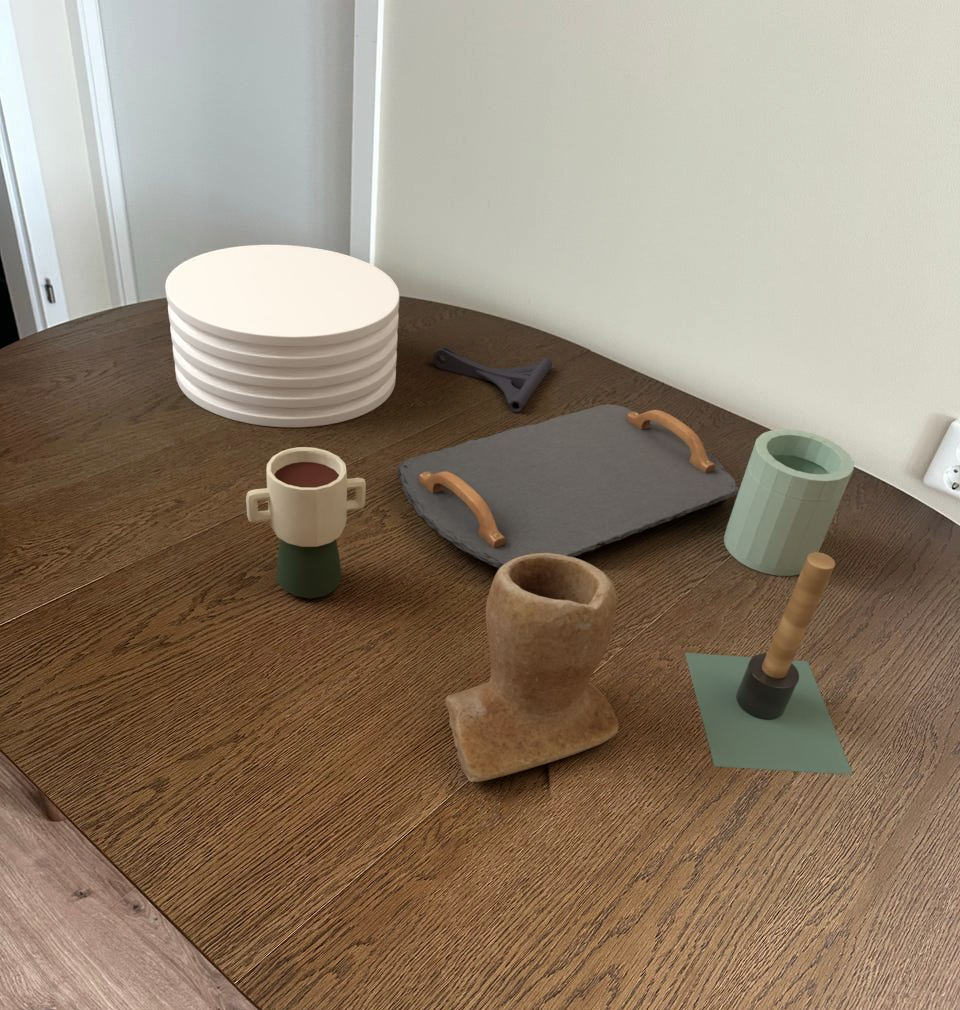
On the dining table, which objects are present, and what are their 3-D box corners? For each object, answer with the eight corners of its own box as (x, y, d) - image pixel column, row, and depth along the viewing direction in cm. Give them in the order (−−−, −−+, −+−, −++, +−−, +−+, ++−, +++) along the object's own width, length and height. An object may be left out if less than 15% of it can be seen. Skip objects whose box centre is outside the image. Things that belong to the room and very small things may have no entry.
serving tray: (492, 606, 92) (500, 555, 88) (369, 489, 105) (370, 440, 101) (754, 504, 111) (770, 458, 107) (622, 415, 124) (632, 371, 120)
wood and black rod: (739, 679, 87) (795, 537, 76) (786, 693, 86) (850, 552, 75) (732, 710, 83) (791, 567, 73) (782, 726, 83) (848, 583, 72)
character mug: (353, 553, 96) (355, 440, 87) (373, 596, 91) (377, 482, 82) (245, 569, 92) (236, 452, 83) (260, 614, 87) (252, 496, 79)
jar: (800, 525, 108) (837, 433, 100) (824, 579, 101) (867, 484, 93) (715, 519, 108) (746, 425, 100) (734, 572, 100) (768, 476, 92)
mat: (806, 665, 90) (808, 660, 90) (850, 779, 80) (853, 774, 79) (683, 657, 89) (685, 652, 89) (712, 770, 79) (714, 766, 78)
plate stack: (314, 312, 138) (313, 231, 130) (438, 390, 124) (445, 305, 116) (135, 355, 122) (122, 267, 115) (254, 451, 108) (248, 357, 100)
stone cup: (564, 659, 87) (593, 525, 77) (631, 750, 79) (674, 615, 69) (412, 697, 81) (423, 559, 71) (469, 800, 74) (490, 660, 64)
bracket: (452, 345, 134) (453, 326, 133) (551, 370, 132) (554, 351, 130) (414, 387, 124) (415, 367, 122) (520, 414, 121) (523, 395, 119)
